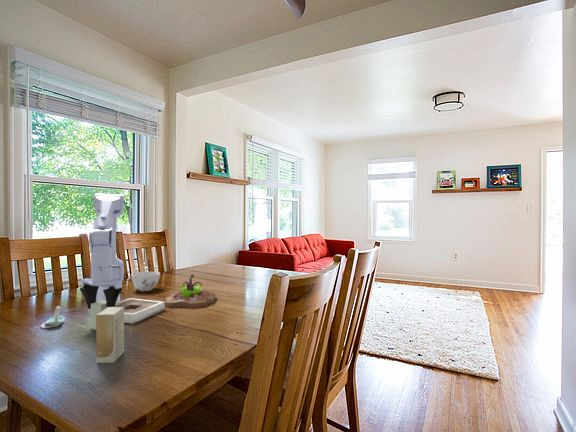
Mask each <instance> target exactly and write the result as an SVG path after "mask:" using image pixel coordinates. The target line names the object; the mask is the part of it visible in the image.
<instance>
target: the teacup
mask: <svg viewBox="0 0 576 432" xmlns="http://www.w3.org/2000/svg"><path fill="white" fill-rule="evenodd" d="M130 276H131V280H132V284H133V285H134V287H135V288H136V289H137V290H138V291H139V292H149V291H152V290H153V289H154V288H155V287H156V286H157V284H158V283H159V280H160V277H161V272H158V271H139V272H132V273H131V275H130Z"/></svg>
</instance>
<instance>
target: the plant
mask: <svg viewBox="0 0 576 432" xmlns="http://www.w3.org/2000/svg"><path fill="white" fill-rule="evenodd" d="M194 278H195V274H190V276H189V282H188V281H184V282H182V283H181V285H180V289H179V288H178V289H177V290H178V291H177V292H173V293H172V294H171V295H169V296H166V297H164V298H163V302H165V306H164V308H170V309H171V308H173V309H174V308H180V309H181V308H183V309H185V308H187V309H200V308H205V307H207V306H208V305H212V304H214V301H215V300H216V293H215V292H212V291H209V290H203V289H204V288H203V287H202V286H204V285H203V283H204V282H202V281H195V282H194V283H192V279H194ZM185 284H186V286H185ZM196 284H199V285H196ZM200 287H202V288H200Z"/></svg>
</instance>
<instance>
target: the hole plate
mask: <svg viewBox="0 0 576 432" xmlns="http://www.w3.org/2000/svg"><path fill="white" fill-rule="evenodd" d="M155 304H156V303H147V302H138V301H128V302H125V303H122V304H119V305H116V306H115V307H124V312H125V313H135V312H138V311H140V310H143V309H145V308H148V307H150V306H153V305H155ZM129 309H134V310H129Z"/></svg>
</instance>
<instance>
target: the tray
mask: <svg viewBox="0 0 576 432" xmlns="http://www.w3.org/2000/svg"><path fill="white" fill-rule="evenodd" d="M128 301H138V302H147V303H156V304H155V305H153V306H150V307H148V308H145V309H143V310H140V311H138V312H135V313H125V312H124V324H125V323H127V324H135V323H138V322H140V321H143V320H145V319H147V318H149V317H151V316H154V315H156V314H159V313H160V312H163V311H165V302H164V301H160V300H151V299H142V298H141V299H140V298H131V297H130V298H126V299H123V300H120V302H117V303H116V304H115V306H116V305H119V304H122V303H125V302H128ZM129 310H134V309H129Z"/></svg>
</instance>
